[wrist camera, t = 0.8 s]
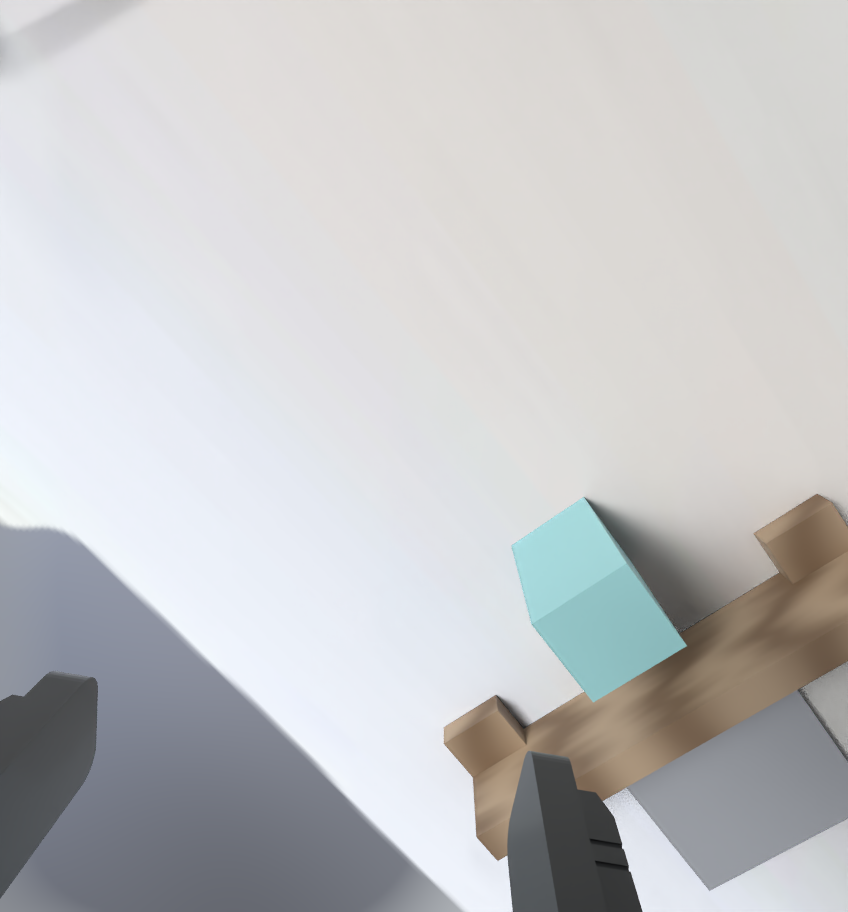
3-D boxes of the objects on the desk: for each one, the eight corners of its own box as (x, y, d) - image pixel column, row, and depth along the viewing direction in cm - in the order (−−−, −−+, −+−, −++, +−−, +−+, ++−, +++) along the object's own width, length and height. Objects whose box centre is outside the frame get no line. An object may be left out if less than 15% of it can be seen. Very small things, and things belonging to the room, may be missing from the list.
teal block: (583, 496, 37) (626, 563, 29) (631, 562, 38) (686, 645, 30) (511, 545, 38) (531, 624, 30) (560, 608, 39) (593, 702, 31)
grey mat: (776, 661, 40) (781, 666, 39) (870, 795, 42) (876, 803, 42) (607, 759, 42) (609, 766, 41) (706, 882, 44) (709, 890, 44)
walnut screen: (816, 493, 37) (886, 534, 31) (884, 598, 39) (961, 655, 33) (443, 727, 42) (444, 800, 36) (517, 812, 43) (528, 895, 37)
